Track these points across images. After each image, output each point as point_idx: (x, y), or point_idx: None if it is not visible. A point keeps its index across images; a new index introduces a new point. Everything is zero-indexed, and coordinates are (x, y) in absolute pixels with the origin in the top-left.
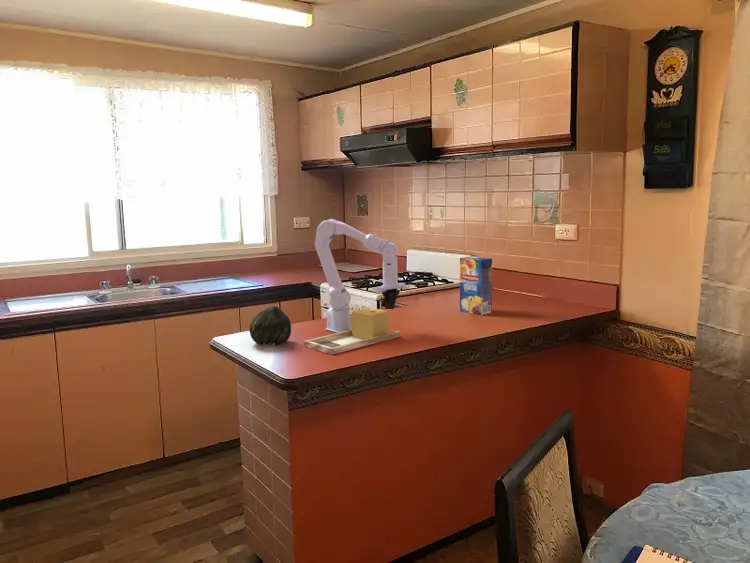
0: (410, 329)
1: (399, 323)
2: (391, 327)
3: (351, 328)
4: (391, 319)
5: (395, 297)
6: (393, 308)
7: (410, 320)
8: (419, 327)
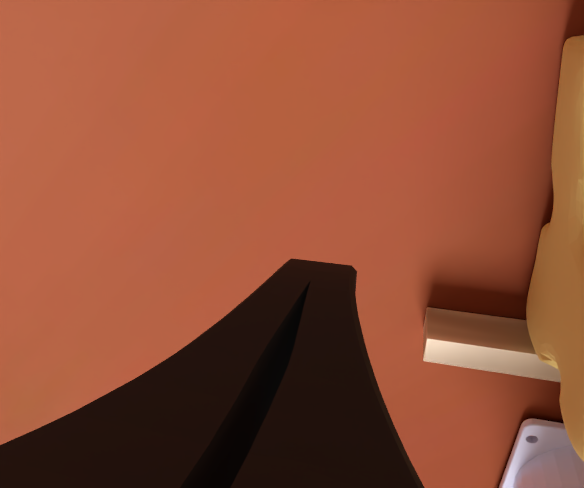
0: (164, 55)
1: (117, 274)
2: (248, 247)
3: (536, 448)
4: (100, 374)
5: (172, 411)
6: (297, 261)
7: (3, 264)
8: (48, 41)
